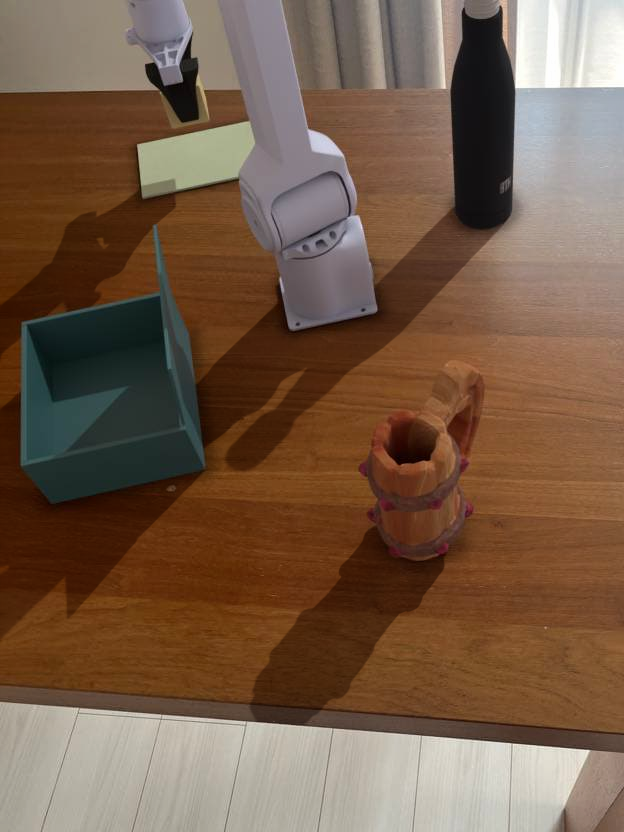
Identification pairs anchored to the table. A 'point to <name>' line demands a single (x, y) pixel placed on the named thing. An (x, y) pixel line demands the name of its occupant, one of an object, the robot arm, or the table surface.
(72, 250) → the table surface
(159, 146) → the placemat
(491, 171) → the black insulated flask
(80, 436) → the carton
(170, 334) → the flap
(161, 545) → the table surface
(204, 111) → the block
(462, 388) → the mug
